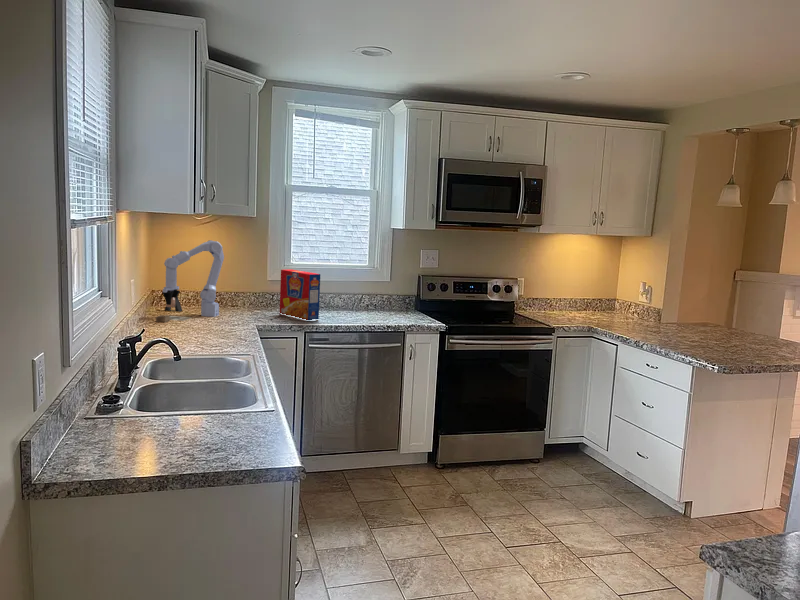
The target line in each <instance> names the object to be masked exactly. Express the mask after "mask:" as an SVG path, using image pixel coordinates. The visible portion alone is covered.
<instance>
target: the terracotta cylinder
mask: <svg viewBox="0 0 800 600" xmlns="http://www.w3.org/2000/svg"><path fill="white" fill-rule="evenodd" d="M165 307H171V308H175V297H172V299H171V305H167V304H166V303H165Z"/></svg>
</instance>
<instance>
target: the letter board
mask: <svg viewBox="0 0 800 600" xmlns="http://www.w3.org/2000/svg"><path fill="white" fill-rule="evenodd" d="M165 316H170V320H171V321H181V322H182V321H183V322H184V321H187V320H191V319H192V318H193V317H192V316H191V317H190V316H181V315H166V314H165Z"/></svg>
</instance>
